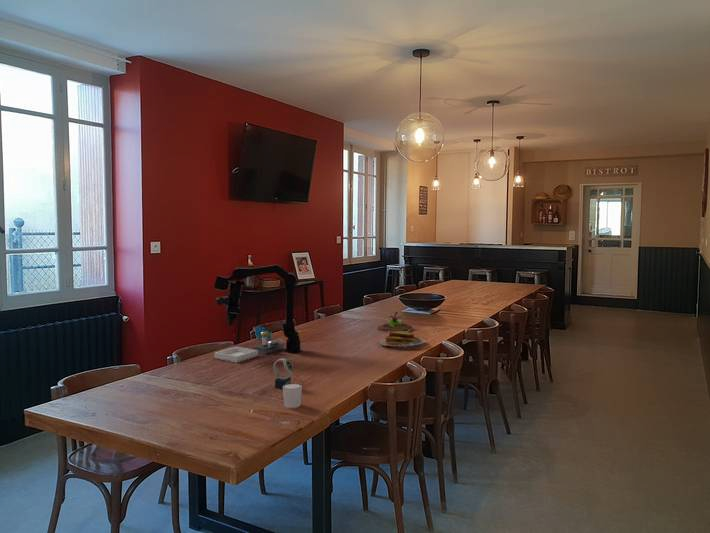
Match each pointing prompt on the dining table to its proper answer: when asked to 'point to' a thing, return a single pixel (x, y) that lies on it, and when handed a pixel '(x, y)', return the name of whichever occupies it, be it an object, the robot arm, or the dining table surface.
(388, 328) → the plant
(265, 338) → the pin
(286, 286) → the robot arm
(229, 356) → the tray
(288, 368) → the watch
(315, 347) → the dining table surface
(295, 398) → the shot glass
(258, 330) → the gear
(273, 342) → the block
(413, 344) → the food on plate
